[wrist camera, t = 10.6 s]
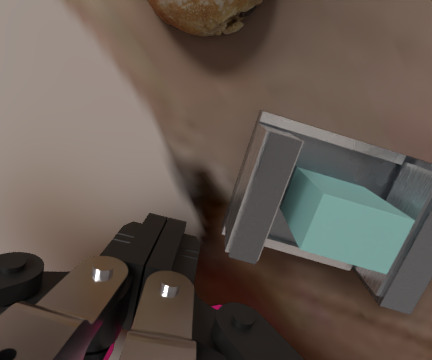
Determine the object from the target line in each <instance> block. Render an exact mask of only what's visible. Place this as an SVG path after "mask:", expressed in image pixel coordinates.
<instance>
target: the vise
mask: <svg viewBox="0 0 432 360" xmlns="http://www.w3.org/2000/svg"><path fill="white" fill-rule="evenodd" d="M258 123H259V124H262V125H266V126H269V127H272V128H275V129H279V130H282V131H285V132H288V133H290V134H292V135H294V136H295V137H297V138H299V139H301V140H302V141H304V143H303V146H302V148H301V151H300V153H299V156H298V159H297V161H296V164H295V166H294V169H293V172H292V174H291V177H290V179H289V182H288V185H287V187H286V190H285V192H284V195H283V198H282V200H281V203H280V205H279V208H278V211H277V213H276V216H275V218H274V221H273V224H272V226H271V229H270V232H269V234H268V237H267V239H266V242H265V245H264V246H265V247H268V248H272V249H275V250H279V251H282V252H285V253H289V254H292V255H296V256H299V257H303V258H306V259H310V260H313V261H317V262H320V263H324V264H327V265H331V266H334V267H338V268H341V269H345V270H348V271H350V270H351V269H353V270H354V272H355V273H356V275H357V276H358V277H359V279H360V280H361V281H362V283H363V284H364V285H365V287H366V288H367V289H368V291H369V292H370V294H371V295H372V296H373V298H374V299H375V300H376V302H377V303H378V304H379V306H381V307H385V308H389V309H392V310H396V311H399V312H403V313H406V314H411V313H412V311H413V309H414V308H415V306H416V304H417V302H418V301H419V299H420V297H421V296H422V294H423V292H424V290H425V289H426V287H427V285H428V284H429V282H430V280H431V278H432V163H429V162H426V161H423V160H420V159H416V158H413V157H410V156H407V155H403V154H400V153H397V152H394V151H391V150H387V149H384V148H381V147H378V146H374V145H371V144H368V143H365V142H362V141H358V140H355V139H352V138H349V137H345V136H342V135H339V134H336V133H333V132H329V131H326V130H323V129H320V128H316V127H313V126H310V125H307V124H304V123H300V122H297V121H294V120H291V119H287V118H284V117H281V116H278V115H275V114H271V113H268V112H265V111H262V110H260V112H259V115H258V118H257V121H256V124H255V127H254V130H253V133H252V136H251V139H250V142H249V145H248V148H247V151H246V154H245V157H244V160H243V163H242V166H241V169H240V172H239V175H238V178H237V181H236V184H235V187H234V190H233V193H232V196H231V199H230V202H229V205H228V208H227V211H226V214H225V217H224V220H223V223H222V234H223V235H225V222H226V219H227V216H228V213H229V210H230V207H231V204H232V201H233V198H234V195H235V192H236V189H237V186H238V183H239V180H240V177H241V174H242V171H243V168H244V165H245V162H246V159H247V156H248V153H249V150H250V147H251V144H252V141H253V138H254V135H255V132H256V129H257V126H258ZM297 167H299V168H302V169H305V170H309V171H312V172H315V173H319V174H322V175H325V176H329V177H332V178H335V179H339V180H342V181H346V182H349V183H352V184H356V185H359V186H362V187H365V188H366V189H368V190H369V191H371V192H372V193H374V194H375V195H377V196H379V197H380V198H382V199H383V200H385V201H386V202H388V203H389V204H391V205H392V206H394V207H395V208H397V209H399V210H400V211H402V212H403V213H405V214H406V215H408V216H409V217H411V218H412V219H414V220H415V222H414V224H413V226H412V228H411V230H410V232H409V233H408V235H407V237H406V239H405V241H404V243H403V245H402V247H401V249H400V251H399V252H398V254H397V256H396V258H395V260H394V262H393V264H392V266H391V268H390V269H389V271H388V273H387V274H383V273H380V272H376V271H373V270H369V269H366V268H362V267H359V266H355V265H352V264H348V263H345V262H341V261H338V260H334V259H331V258H327V257H324V256H320V255H317V254H313V253H310V252H306V251H303V250H300V249H299V247H298V245H297V243H296V241H295V238H294V236H293V234H292V232H291V230H290V228H289V226H288V224H287V222H286V220H285V218H284V216H283V214H282V212H281V207H282V205H283V202H284V199H285V197H286V194H287V192H288V189H289V186H290V184H291V181H292V178H293V176H294V173H295V171H296V168H297Z"/></svg>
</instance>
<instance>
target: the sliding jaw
mask: <svg viewBox="0 0 432 360" xmlns="http://www.w3.org/2000/svg"><path fill="white" fill-rule="evenodd" d="M303 143H304V141H302V140H301V139H299V138H297V137H295V136H294V135H292V134H290V133H288V132H285V131H282V130H279V129H275V128H272V127H269V126H266V125H262V124H259V123H258V126H257V129H256V132H255V135H254V138H253V141H252V144H251V147H250V150H249V153H248V156H247V159H246V162H245V165H244V168H243V171H242V174H241V177H240V180H239V183H238V186H237V189H236V192H235V195H234V198H233V201H232V204H231V207H230V210H229V213H228V216H227V219H226V222H225V252H228V257H231V258H234V259H238V260H241V261H245V262H248V263H252V264H255V265H256V263H257V261H258V260H259V258H260V255H261V252H262V250H263V247H264V245H265V242H266V239H267V237H268V234H269V232H270V229H271V226H272V224H273V221H274V218H275V216H276V213H277V211H278V208H279V205H280V203H281V200H282V198H283V195H284V192H285V190H286V187H287V185H288V182H289V179H290V177H291V174H292V172H293V169H294V166H295V164H296V161H297V159H298V156H299V153H300V151H301V148H302V146H303Z"/></svg>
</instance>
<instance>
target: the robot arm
mask: <svg viewBox="0 0 432 360" xmlns="http://www.w3.org/2000/svg"><path fill="white" fill-rule="evenodd" d="M185 227H186V222H185V221H181V220H176V219H172V218H167V217H164V216H160V215H156V214H152V213H149V215H148V216H147V218H146V219H145V221H144V222H143V224H141V223H137V222H131V223H129V224H127V225H124V226H123V227H122V228H121V230H120V231H119V232H118V234H117V235H116V236H115V237H114V239H113V240H112V241H111V242H110V243H109V245H108V246H107V247H106V248H105V250H104V251H103V252H102V253H101V254H100V256H94V257H90V258H87V259H85V260H83V261H82V262H80V263H79V264H78V265H77V266H76V267H75V268H74V269H73V270H72V271H70V272H44V271H43V270H44V262H43V261H42V259H41V258H40V257H38V256H36V255H34V254H30V253H23V252H12V253H5V254H1V255H0V360H108V359H109V357H110V355H111V354H112V351H113V348H114V343H115V340H116V339H117V337H118V335H119V333H120V331H121V329H126V330H129V331H128V334H127V337H126V340H125V343H124V346H123V349H122V352H121V356H120V359H119V360H304V359H303V358H302V357H301V356H300V355H299V354H298V353H297V352H296V351H295V349H294V348H293V347H292V346H291V345H290V344H289V343H288V342H287V341H286V340H285V339H284V338H283V337H282V336H281V335H280V334H279V333H278V332H277V331H276V330H275V329H274V328H273V327H272V326H271V325H270V324H269V323H268V322H267V321H266V320H265V319H264V318H263V317H262V316H261V315H260V314H259V313H258V312H257V311H256V310H254V309H253V308H251V307H249V306H247V305H244V304H241V303H226V304H224V305H222V306H221V307H220V308H219V309H218V310H217V309H215V308H213V307H211V306H209V305H207V304H206V303H204V302H203V301H202V300H201V299H200V298H199V297H198V296H197V295H196V293H195V291H194V279H195V273H196V267H197V261H198V256H199V250H200V243H199V241H198V239H197V237H195V236H191V235H187V234H184V231H185ZM131 327H132V328H131Z"/></svg>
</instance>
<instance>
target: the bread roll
mask: <svg viewBox="0 0 432 360" xmlns="http://www.w3.org/2000/svg"><path fill="white" fill-rule="evenodd" d="M147 1H148V2H149V4H150V6H151V7H152V9H153V10H154V12H155V13H156V14H157V15H158V16H159V17H160V18H161V19H162V20H163V21H164V22H165V23H167V24H169V25H171V26H174V27H176V28H178V29H179V30H181V31H184V32H186V33H189V34H194V35H198V36H204V37H206V36H211V35H221V33H224V34H231V33H234V32H236V31H238V30H240V29H241V28H242V27H243V26H244V25H245V24H244V23H243V21H242V20H243V19H244V18H245V17H247V16H248V15H249V14H250V13H252V12H253V11H254V10H255V8H256V7H257V6H258V5H260V4H261V3H262V2H263V0H147Z"/></svg>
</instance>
